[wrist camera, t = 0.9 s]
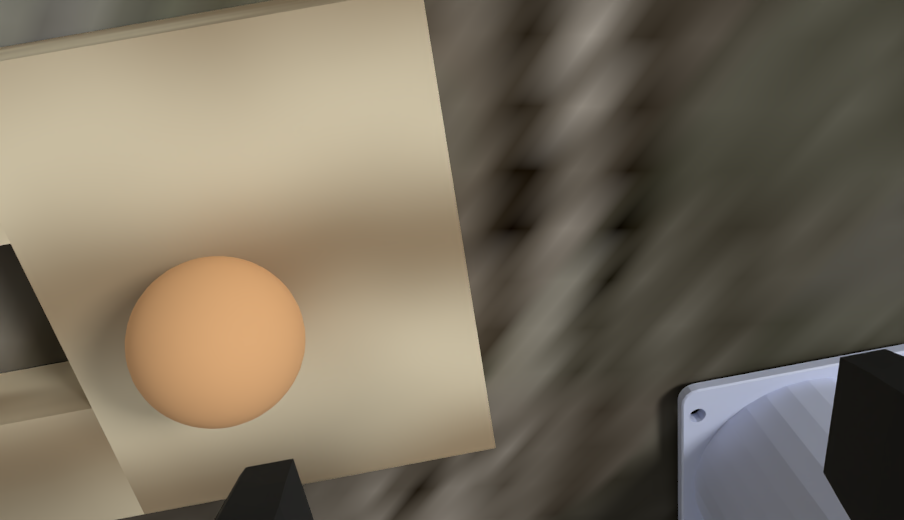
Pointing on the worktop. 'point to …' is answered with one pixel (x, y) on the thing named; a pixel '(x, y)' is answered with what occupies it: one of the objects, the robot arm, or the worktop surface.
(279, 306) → the ball
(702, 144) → the worktop surface
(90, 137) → the board
